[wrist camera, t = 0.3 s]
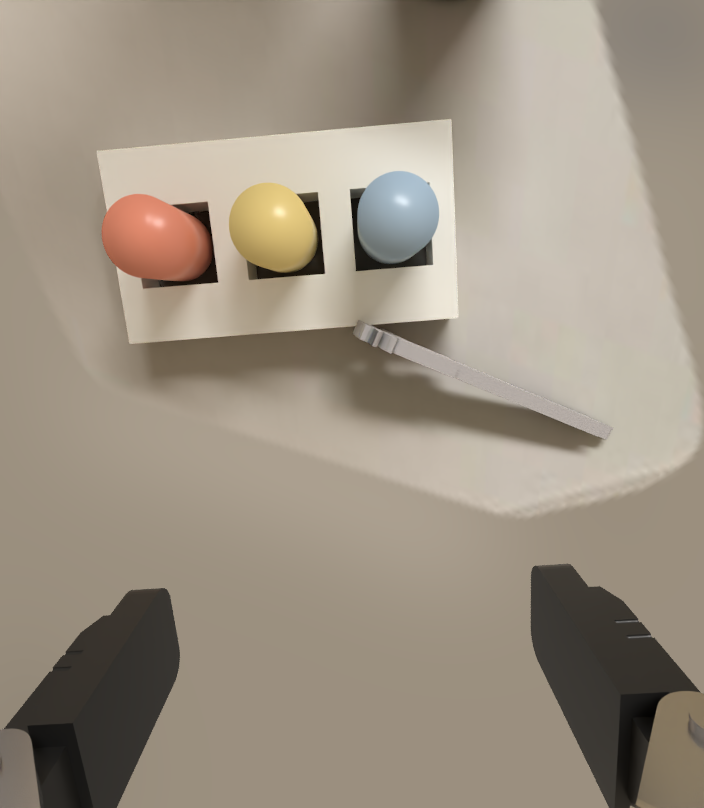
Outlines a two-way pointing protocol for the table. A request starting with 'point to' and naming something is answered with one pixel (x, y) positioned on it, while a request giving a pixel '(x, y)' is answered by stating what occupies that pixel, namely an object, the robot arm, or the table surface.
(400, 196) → the button blue
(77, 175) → the table surface
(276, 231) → the yellow rounded cylinder
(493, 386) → the caliper
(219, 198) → the console
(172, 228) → the button terracotta
